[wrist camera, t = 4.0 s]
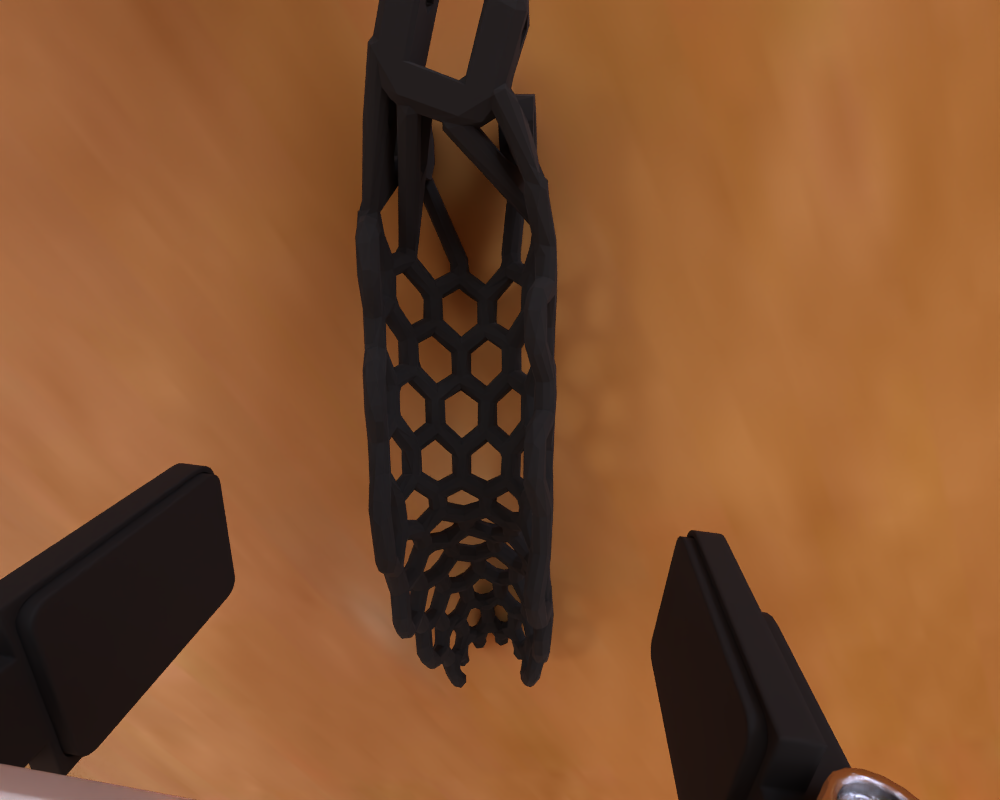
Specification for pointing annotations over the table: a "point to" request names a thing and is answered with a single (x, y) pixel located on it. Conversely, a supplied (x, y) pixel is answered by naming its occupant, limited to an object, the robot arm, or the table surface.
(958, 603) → the table surface
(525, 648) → the decorative element
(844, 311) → the table surface
